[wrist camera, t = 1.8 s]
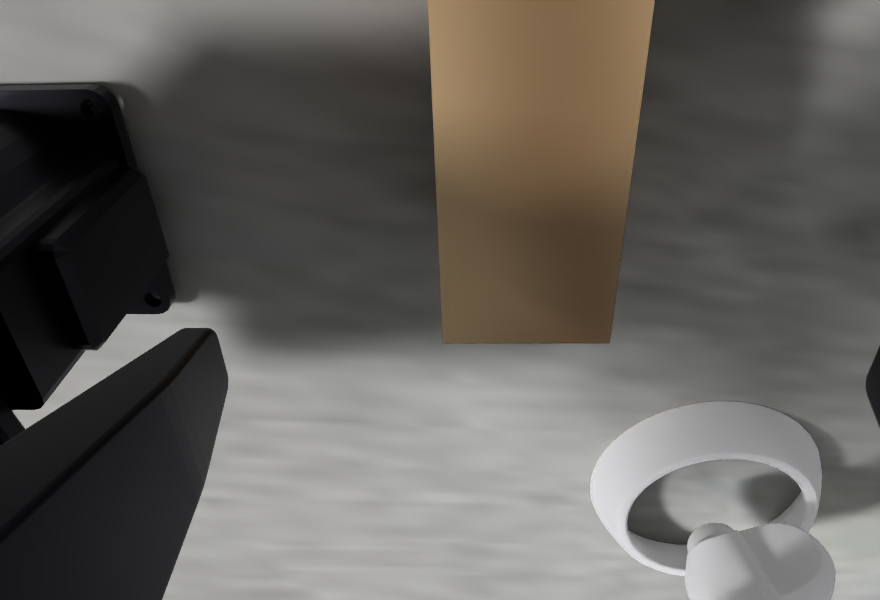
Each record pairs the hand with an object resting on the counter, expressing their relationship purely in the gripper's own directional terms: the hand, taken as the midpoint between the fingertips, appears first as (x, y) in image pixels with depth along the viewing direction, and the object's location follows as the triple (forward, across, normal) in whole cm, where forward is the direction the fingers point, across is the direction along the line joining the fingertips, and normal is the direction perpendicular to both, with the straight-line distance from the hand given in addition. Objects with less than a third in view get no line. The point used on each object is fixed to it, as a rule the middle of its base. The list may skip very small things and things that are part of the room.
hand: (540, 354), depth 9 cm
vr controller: (+9, -7, +13) cm, 17 cm away
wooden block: (+9, 0, -2) cm, 9 cm away
